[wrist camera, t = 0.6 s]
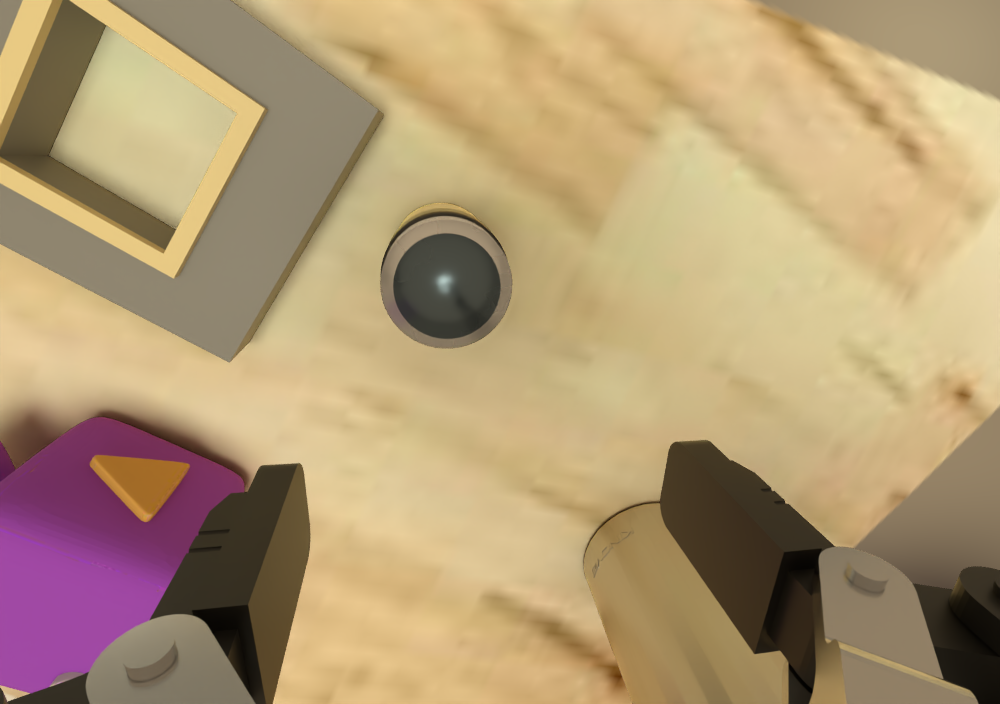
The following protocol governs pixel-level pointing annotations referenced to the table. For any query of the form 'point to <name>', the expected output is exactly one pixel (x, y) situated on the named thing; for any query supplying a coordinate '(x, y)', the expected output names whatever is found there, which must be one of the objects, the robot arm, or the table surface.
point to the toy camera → (93, 543)
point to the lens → (445, 277)
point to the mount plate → (221, 194)
